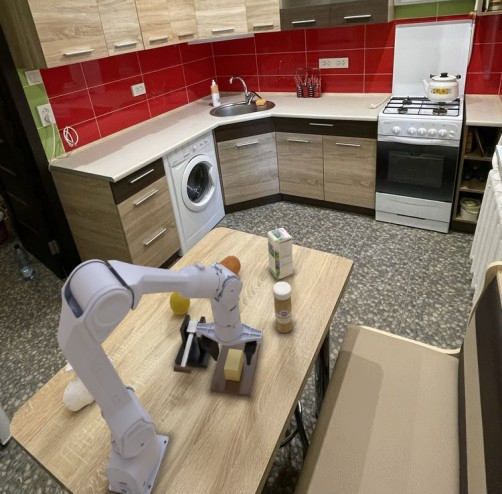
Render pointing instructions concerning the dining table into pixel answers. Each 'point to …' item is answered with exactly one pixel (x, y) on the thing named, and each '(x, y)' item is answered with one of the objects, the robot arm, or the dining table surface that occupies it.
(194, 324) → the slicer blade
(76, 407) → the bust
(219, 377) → the board
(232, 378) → the butter
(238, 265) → the potato
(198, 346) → the slicer
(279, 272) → the syrup box
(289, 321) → the sprinkles bottle
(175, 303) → the lemon
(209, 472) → the dining table surface
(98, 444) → the dining table surface
